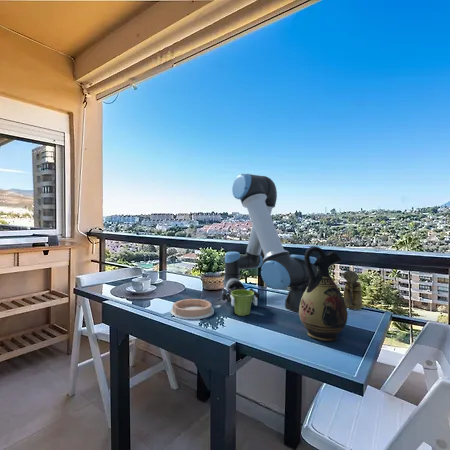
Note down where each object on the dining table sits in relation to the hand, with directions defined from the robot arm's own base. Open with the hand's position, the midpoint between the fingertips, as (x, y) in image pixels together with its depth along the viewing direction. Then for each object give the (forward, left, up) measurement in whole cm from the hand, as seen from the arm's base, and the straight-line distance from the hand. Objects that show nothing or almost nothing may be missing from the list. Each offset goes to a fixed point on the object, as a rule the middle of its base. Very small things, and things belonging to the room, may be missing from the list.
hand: (244, 302), depth 114 cm
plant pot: (+3, -4, -6) cm, 8 cm away
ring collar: (+21, +6, -6) cm, 23 cm away
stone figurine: (-33, -38, -6) cm, 50 cm away
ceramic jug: (-29, 0, -6) cm, 30 cm away
